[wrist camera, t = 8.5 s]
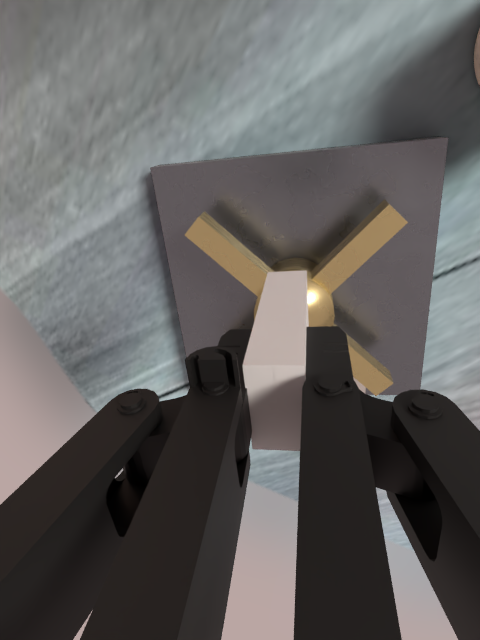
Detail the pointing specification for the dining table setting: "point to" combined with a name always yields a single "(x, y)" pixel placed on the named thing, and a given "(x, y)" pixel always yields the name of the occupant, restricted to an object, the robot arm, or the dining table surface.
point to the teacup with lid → (477, 58)
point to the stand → (312, 239)
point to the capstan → (311, 275)
